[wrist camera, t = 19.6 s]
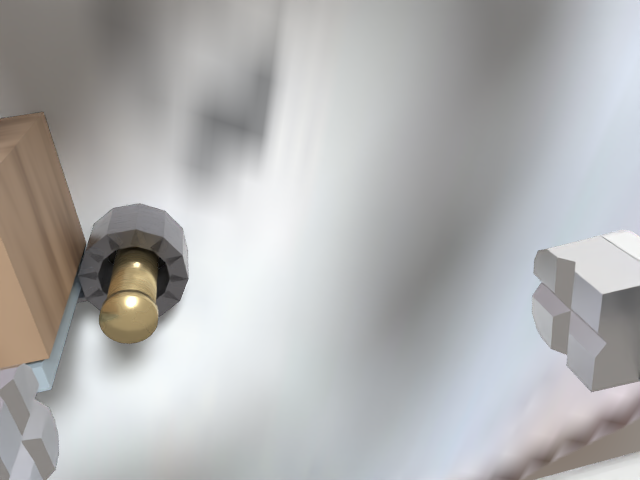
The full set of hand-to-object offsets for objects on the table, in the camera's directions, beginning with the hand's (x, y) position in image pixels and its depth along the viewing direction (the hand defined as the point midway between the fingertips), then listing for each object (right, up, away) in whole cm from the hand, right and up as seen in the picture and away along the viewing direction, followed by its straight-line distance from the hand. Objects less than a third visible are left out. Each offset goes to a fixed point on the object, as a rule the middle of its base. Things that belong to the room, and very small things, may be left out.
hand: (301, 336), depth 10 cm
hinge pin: (-13, +1, +35) cm, 38 cm away
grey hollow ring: (-15, +1, +35) cm, 38 cm away
